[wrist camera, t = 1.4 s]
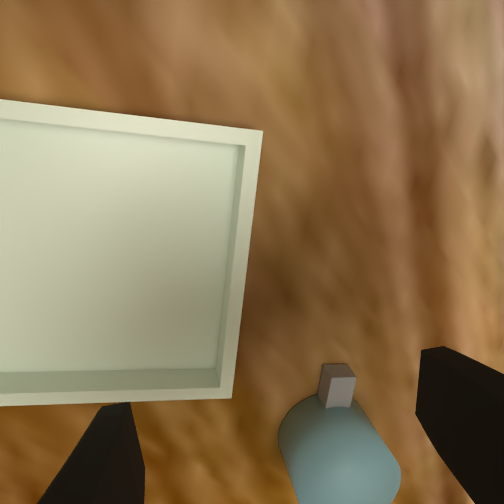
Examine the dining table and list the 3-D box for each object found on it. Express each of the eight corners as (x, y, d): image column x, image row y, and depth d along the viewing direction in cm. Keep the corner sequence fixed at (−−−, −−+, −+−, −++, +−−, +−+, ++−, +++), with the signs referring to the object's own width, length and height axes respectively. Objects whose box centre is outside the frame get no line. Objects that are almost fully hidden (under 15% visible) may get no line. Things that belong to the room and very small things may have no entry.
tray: (225, 372, 20) (231, 398, 19) (-41, 378, 18) (-65, 408, 16) (252, 129, 17) (263, 130, 15) (-75, 90, 14) (-111, 85, 12)
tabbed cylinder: (354, 462, 24) (388, 525, 21) (272, 469, 23) (292, 536, 19) (378, 363, 22) (420, 412, 19) (289, 364, 21) (316, 417, 17)
